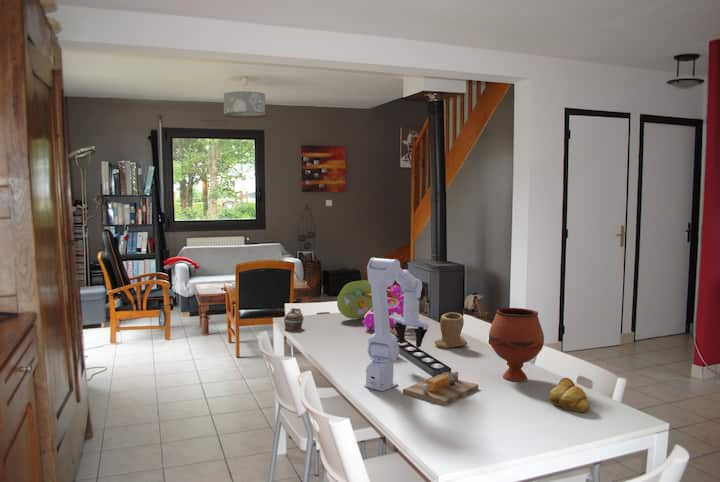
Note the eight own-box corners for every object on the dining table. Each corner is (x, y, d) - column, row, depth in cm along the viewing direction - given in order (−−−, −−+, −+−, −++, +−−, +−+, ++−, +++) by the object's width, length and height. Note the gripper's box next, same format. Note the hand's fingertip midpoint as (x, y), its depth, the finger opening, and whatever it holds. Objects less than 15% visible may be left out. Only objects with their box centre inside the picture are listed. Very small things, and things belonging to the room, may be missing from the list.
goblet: (481, 370, 213) (483, 305, 211) (530, 370, 214) (533, 306, 213) (496, 386, 194) (499, 315, 192) (550, 386, 195) (553, 316, 194)
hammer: (436, 393, 182) (436, 382, 181) (425, 390, 184) (425, 379, 184) (457, 383, 192) (457, 373, 192) (446, 380, 195) (446, 370, 194)
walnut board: (444, 405, 175) (445, 391, 174) (402, 393, 185) (403, 380, 184) (478, 388, 191) (478, 375, 191) (438, 378, 202) (438, 366, 201)
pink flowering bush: (381, 263, 304) (417, 280, 274) (387, 310, 313) (423, 332, 283) (332, 279, 292) (364, 299, 262) (340, 328, 300) (372, 353, 271)
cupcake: (285, 326, 281) (285, 306, 280) (304, 326, 280) (304, 307, 280) (282, 330, 271) (282, 310, 270) (301, 331, 271) (302, 310, 270)
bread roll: (596, 412, 172) (598, 387, 171) (572, 416, 168) (573, 390, 168) (566, 399, 184) (567, 375, 183) (542, 402, 180) (543, 378, 179)
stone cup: (446, 351, 239) (448, 317, 238) (430, 345, 250) (431, 312, 249) (474, 348, 247) (475, 314, 246) (457, 341, 257) (458, 309, 256)
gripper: (433, 310, 209) (432, 346, 210) (401, 305, 218) (400, 339, 219) (422, 313, 204) (421, 350, 205) (390, 307, 213) (389, 343, 214)
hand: (410, 345), depth 211 cm, fingers open, 7 cm apart
